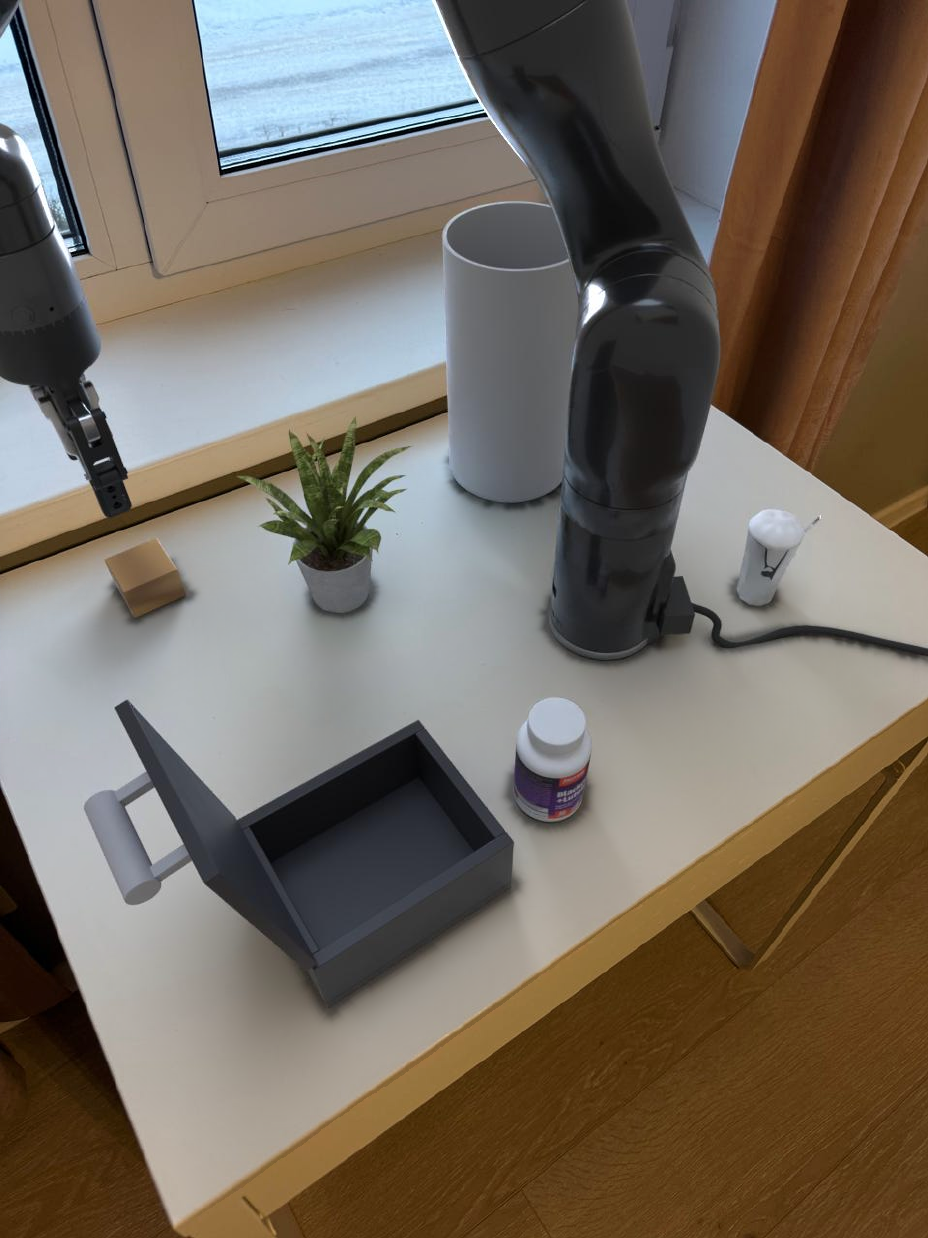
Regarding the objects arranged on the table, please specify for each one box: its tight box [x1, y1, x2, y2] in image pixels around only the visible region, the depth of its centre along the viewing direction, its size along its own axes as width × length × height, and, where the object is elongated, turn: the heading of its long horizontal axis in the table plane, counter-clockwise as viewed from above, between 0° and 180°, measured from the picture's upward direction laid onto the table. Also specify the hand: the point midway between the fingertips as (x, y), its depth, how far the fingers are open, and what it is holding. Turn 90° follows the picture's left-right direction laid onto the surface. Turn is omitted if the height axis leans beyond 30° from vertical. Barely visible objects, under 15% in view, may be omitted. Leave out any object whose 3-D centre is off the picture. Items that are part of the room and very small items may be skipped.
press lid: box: [83, 699, 317, 972], centre depth 49 cm, size 16×12×5 cm
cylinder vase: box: [441, 200, 578, 504], centre depth 85 cm, size 12×12×25 cm
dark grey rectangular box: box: [237, 719, 515, 1009], centre depth 62 cm, size 15×12×7 cm
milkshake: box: [736, 508, 822, 607], centre depth 78 cm, size 4×5×10 cm
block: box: [104, 537, 187, 619], centre depth 82 cm, size 5×5×4 cm
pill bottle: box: [513, 696, 593, 823], centre depth 65 cm, size 5×5×10 cm
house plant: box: [233, 416, 413, 614], centre depth 76 cm, size 14×14×16 cm
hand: (99, 482), depth 73 cm, fingers open, 8 cm apart
